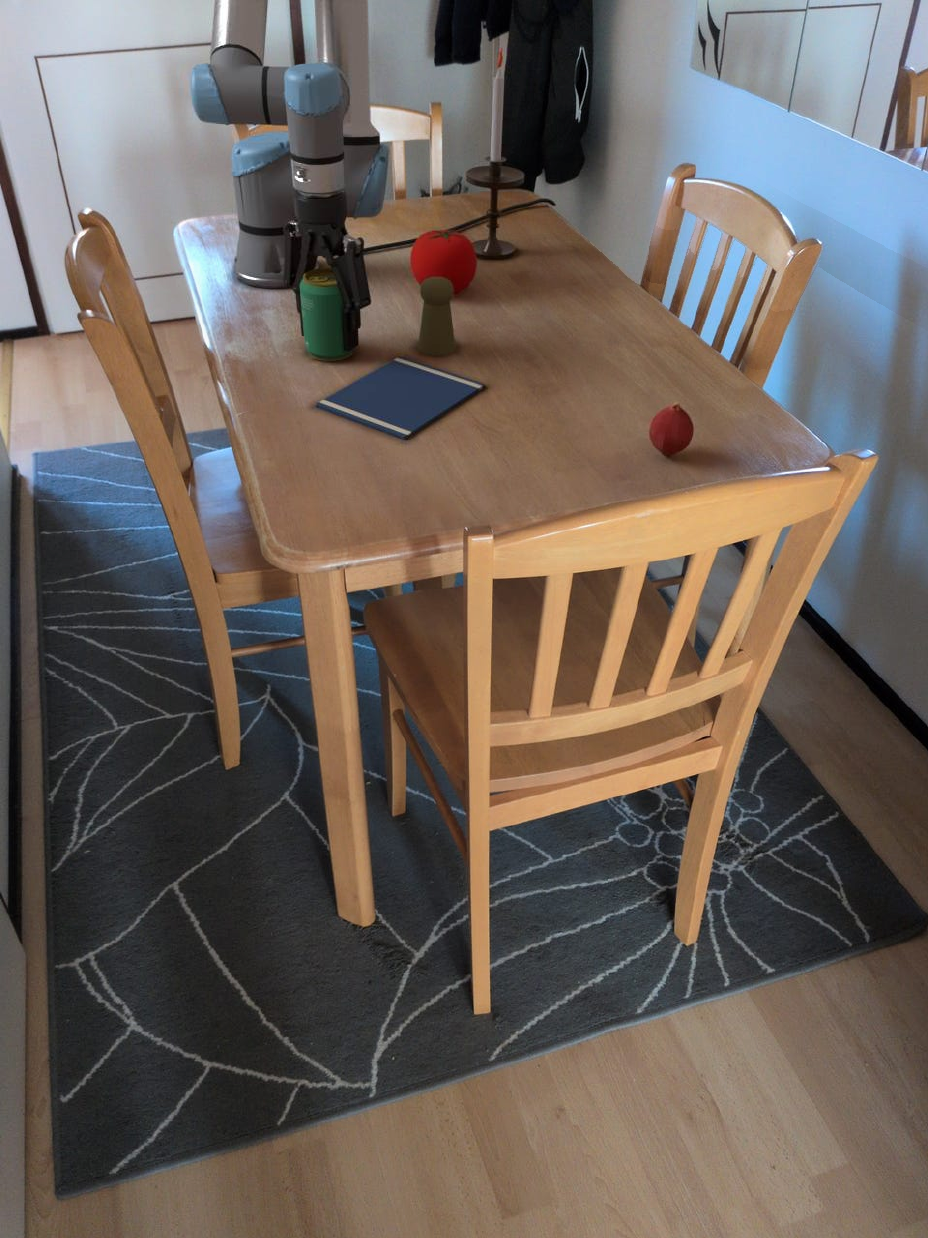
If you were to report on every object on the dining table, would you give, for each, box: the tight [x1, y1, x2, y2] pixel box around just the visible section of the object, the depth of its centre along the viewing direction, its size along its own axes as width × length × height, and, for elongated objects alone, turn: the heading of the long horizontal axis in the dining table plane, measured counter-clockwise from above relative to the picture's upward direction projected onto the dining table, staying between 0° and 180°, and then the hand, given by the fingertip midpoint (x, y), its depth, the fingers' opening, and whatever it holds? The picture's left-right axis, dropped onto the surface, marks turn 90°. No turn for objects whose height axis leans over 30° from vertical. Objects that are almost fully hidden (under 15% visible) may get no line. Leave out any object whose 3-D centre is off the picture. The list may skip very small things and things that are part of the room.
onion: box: [648, 401, 695, 458], centre depth 132 cm, size 6×6×8 cm
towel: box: [315, 355, 486, 441], centre depth 146 cm, size 20×16×1 cm
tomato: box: [409, 229, 478, 296], centre depth 175 cm, size 12×12×10 cm
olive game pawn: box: [417, 277, 456, 356], centre depth 156 cm, size 6×6×11 cm
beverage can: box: [300, 267, 355, 362], centre depth 153 cm, size 8×8×12 cm
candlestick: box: [465, 47, 525, 261], centre depth 183 cm, size 11×11×35 cm
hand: (330, 340), depth 156 cm, fingers closed on beverage can, 8 cm apart
